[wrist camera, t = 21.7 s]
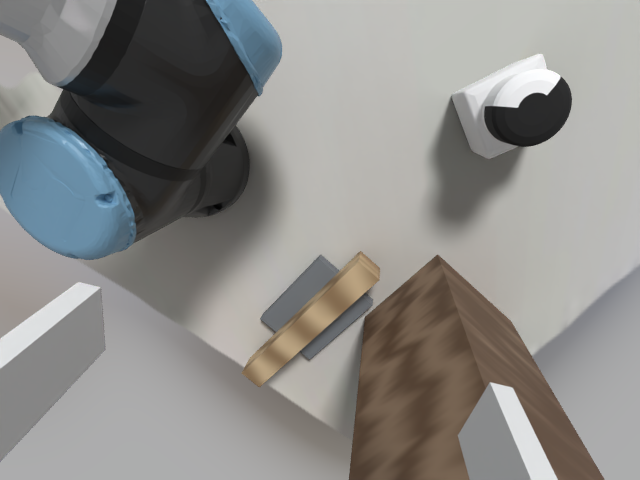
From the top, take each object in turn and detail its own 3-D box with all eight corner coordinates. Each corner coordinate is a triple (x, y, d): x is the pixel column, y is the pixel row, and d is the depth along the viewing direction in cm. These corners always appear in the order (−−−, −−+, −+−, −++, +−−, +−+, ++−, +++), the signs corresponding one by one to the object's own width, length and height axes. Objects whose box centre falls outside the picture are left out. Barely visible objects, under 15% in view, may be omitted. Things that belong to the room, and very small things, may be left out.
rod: (266, 371, 56) (259, 387, 53) (249, 357, 56) (241, 373, 53) (379, 268, 47) (379, 279, 44) (360, 251, 46) (358, 261, 43)
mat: (311, 353, 56) (309, 359, 54) (263, 313, 54) (260, 318, 53) (372, 299, 50) (372, 305, 49) (320, 254, 49) (318, 258, 48)
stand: (433, 375, 53) (484, 666, 25) (365, 316, 52) (341, 557, 24) (510, 321, 48) (683, 613, 20) (437, 254, 46) (514, 470, 19)
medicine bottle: (535, 124, 39) (594, 130, 28) (471, 152, 41) (502, 168, 30) (515, 61, 37) (570, 41, 26) (449, 94, 40) (474, 88, 29)
